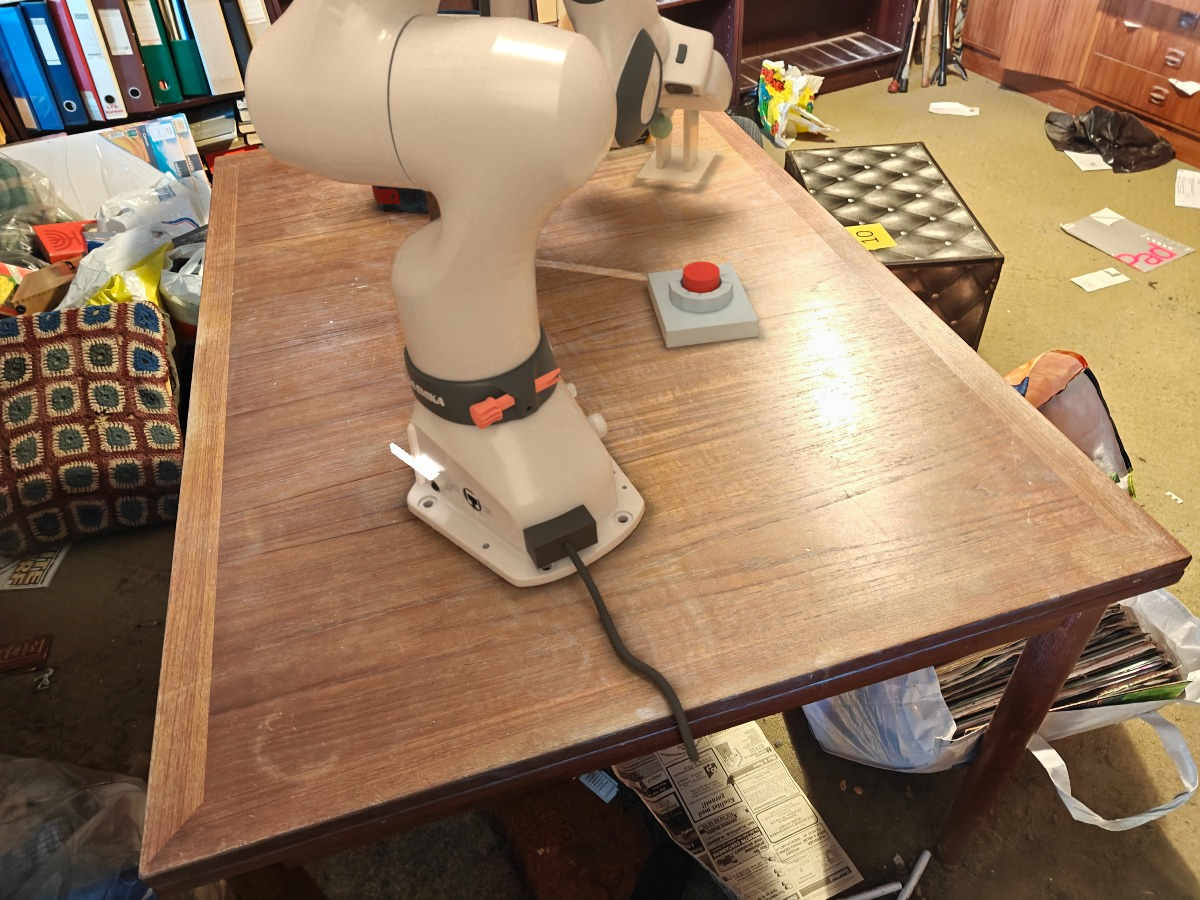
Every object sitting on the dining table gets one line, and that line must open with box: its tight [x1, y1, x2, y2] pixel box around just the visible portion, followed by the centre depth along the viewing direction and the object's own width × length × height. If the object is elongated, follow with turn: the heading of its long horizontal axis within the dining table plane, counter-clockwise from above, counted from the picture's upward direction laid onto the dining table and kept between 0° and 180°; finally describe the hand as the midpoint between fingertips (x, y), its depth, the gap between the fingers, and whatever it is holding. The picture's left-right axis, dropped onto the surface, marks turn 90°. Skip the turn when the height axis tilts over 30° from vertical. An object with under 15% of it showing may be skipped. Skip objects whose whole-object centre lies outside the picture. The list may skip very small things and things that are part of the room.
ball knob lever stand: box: [635, 109, 718, 185], centre depth 119 cm, size 11×9×13 cm
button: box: [682, 260, 720, 293], centre depth 94 cm, size 4×4×2 cm
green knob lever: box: [648, 109, 676, 140], centre depth 114 cm, size 11×3×3 cm, turn 160°
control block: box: [646, 262, 760, 349], centre depth 95 cm, size 12×10×4 cm
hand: (659, 111), depth 110 cm, fingers closed
